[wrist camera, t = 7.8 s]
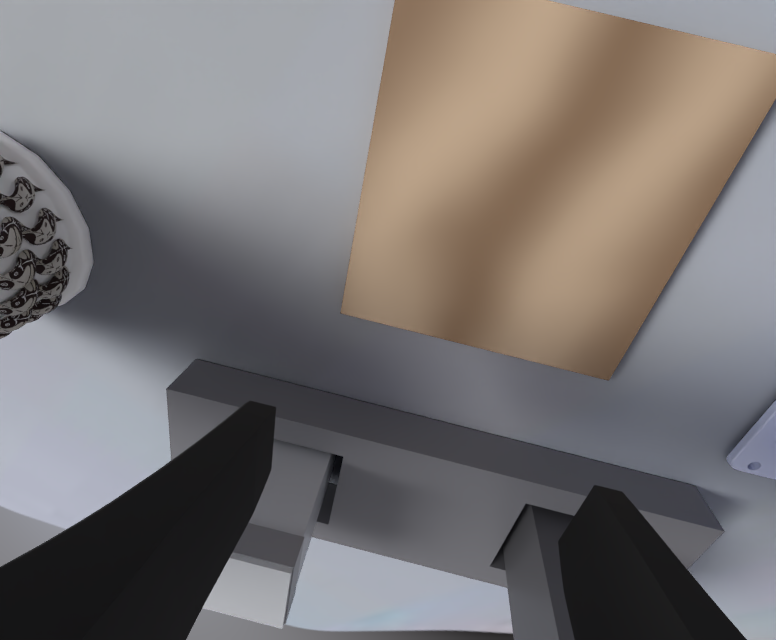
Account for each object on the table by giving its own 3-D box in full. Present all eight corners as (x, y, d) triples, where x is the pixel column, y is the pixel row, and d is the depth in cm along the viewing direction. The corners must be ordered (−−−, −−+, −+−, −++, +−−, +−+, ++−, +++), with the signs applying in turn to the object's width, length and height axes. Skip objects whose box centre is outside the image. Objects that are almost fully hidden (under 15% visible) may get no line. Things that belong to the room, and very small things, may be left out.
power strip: (694, 485, 21) (735, 548, 18) (619, 574, 24) (642, 638, 21) (196, 359, 21) (155, 399, 18) (198, 465, 25) (165, 513, 22)
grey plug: (342, 421, 22) (292, 573, 15) (332, 473, 24) (283, 629, 17) (267, 402, 22) (182, 544, 15) (263, 456, 24) (186, 604, 17)
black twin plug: (598, 491, 22) (671, 677, 15) (567, 536, 24) (617, 721, 16) (524, 472, 22) (561, 649, 15) (499, 519, 24) (520, 695, 17)
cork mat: (783, 61, 13) (798, 59, 12) (604, 372, 18) (608, 380, 18) (402, -29, 13) (401, -35, 12) (343, 307, 18) (340, 313, 18)
